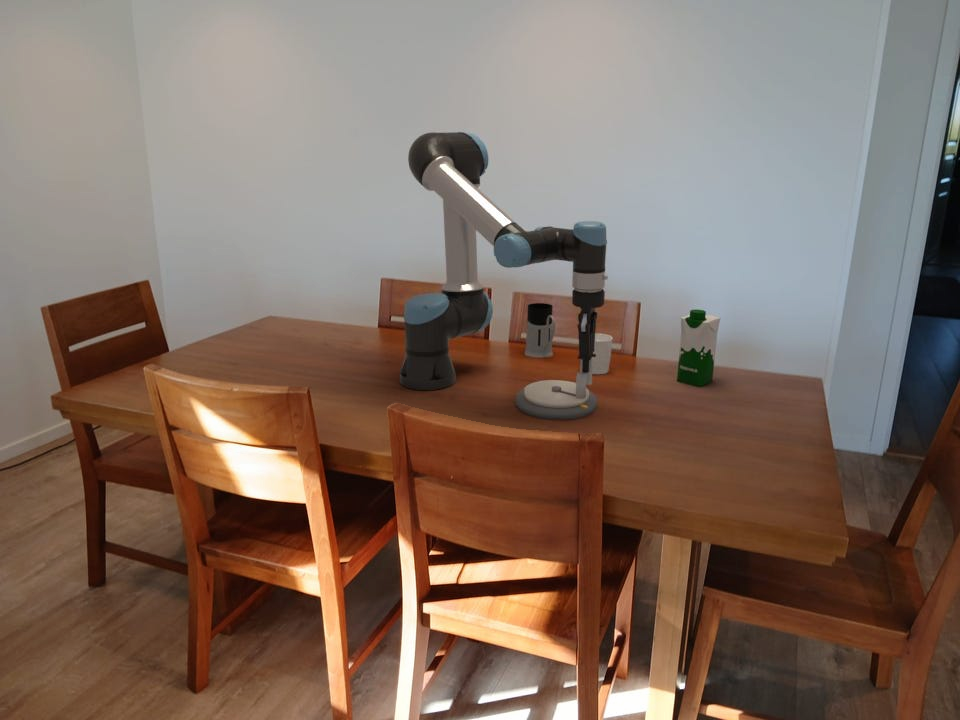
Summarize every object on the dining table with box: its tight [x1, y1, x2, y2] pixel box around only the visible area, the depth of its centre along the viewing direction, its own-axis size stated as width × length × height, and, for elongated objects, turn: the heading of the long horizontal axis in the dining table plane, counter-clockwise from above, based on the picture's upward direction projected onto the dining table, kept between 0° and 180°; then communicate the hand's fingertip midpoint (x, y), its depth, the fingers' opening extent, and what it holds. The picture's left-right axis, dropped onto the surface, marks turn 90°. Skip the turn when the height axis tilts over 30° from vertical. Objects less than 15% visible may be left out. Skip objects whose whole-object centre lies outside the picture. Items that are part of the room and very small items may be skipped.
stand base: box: [515, 387, 598, 421], centre depth 181 cm, size 20×20×2 cm
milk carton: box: [676, 309, 721, 388], centre depth 196 cm, size 9×9×20 cm
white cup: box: [592, 333, 613, 375], centre depth 205 cm, size 8×8×10 cm
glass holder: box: [524, 302, 556, 359], centre depth 218 cm, size 9×14×15 cm, turn 21°
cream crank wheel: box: [523, 371, 590, 408], centre depth 179 cm, size 16×16×8 cm
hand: (586, 383), depth 177 cm, fingers closed
